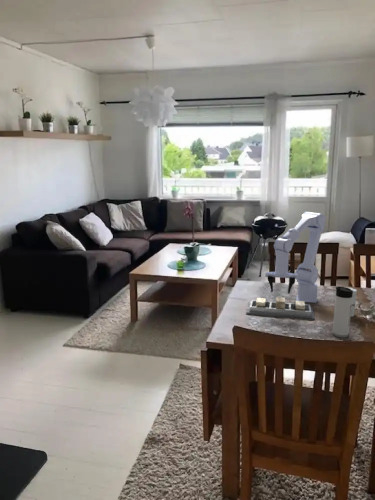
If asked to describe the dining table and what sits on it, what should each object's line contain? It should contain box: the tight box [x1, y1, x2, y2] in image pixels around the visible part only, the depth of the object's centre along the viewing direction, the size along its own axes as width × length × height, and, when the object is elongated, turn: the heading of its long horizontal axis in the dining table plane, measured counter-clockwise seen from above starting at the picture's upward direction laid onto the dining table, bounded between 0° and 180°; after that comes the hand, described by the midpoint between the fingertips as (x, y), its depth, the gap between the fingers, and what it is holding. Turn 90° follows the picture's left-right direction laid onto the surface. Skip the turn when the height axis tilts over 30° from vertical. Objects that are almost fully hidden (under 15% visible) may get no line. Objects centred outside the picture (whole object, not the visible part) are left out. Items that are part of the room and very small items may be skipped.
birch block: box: [275, 296, 286, 309], centre depth 191 cm, size 4×6×5 cm, turn 168°
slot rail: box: [245, 297, 316, 321], centre depth 191 cm, size 30×13×5 cm, turn 77°
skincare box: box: [348, 287, 358, 317], centre depth 187 cm, size 6×4×12 cm
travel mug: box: [331, 286, 353, 339], centre depth 165 cm, size 6×7×20 cm
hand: (280, 292), depth 193 cm, fingers open, 7 cm apart
